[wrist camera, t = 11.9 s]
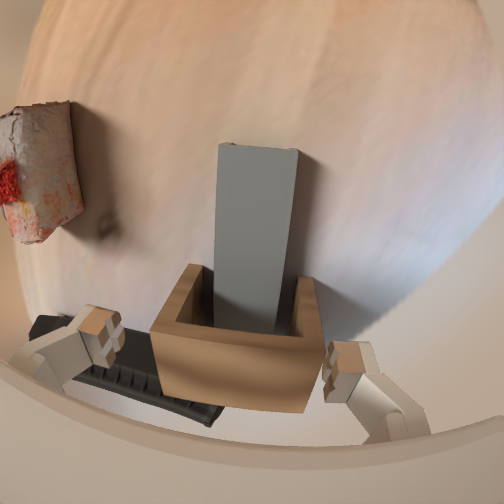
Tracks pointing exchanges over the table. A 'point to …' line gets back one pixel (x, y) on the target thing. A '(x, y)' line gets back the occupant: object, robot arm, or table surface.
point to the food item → (38, 171)
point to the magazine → (132, 373)
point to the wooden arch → (237, 353)
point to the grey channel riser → (251, 234)
